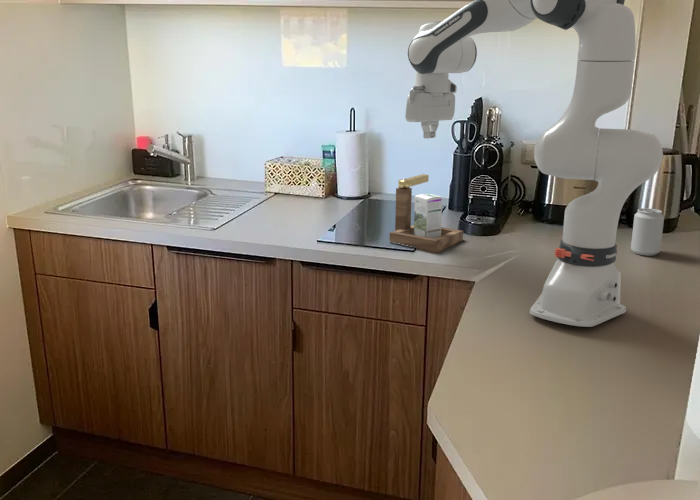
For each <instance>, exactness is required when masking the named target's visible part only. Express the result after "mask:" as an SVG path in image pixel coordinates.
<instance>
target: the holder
mask: <svg viewBox="0 0 700 500" xmlns="http://www.w3.org/2000/svg"><path fill="white" fill-rule="evenodd" d="M412 190H413V188H412V187H410V188H399V187H397V188H395V217H394V218H395V219H394V220H395V223H394V226H395V227H394V229H395V230H393V231H391V232H390V231H389V238H388V239H389V241H391V242H395V243H400V244H404V245H408V246H412V247H416V249H415V250H419V251H423V252H429V253H431V254H437V253H439V252H441V251H444V250H446V249H447V248H449V247H451V246H453V245H456V244H457V243H459V242H461V241H463V240H464V230H460V229H454V228H448V227H442V226H441V236H439V237H436V238H429V237H423V236H417V235H414V224H412V193H413V192H412Z"/></svg>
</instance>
